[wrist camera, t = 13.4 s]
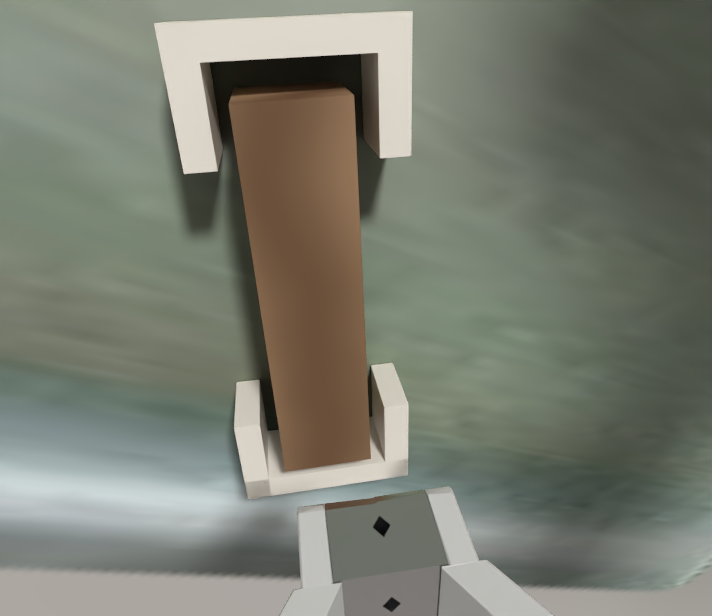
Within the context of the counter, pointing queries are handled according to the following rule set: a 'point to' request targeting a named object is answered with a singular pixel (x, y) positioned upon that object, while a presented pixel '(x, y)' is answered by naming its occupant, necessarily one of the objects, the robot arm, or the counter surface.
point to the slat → (307, 263)
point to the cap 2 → (386, 461)
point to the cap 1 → (287, 40)
